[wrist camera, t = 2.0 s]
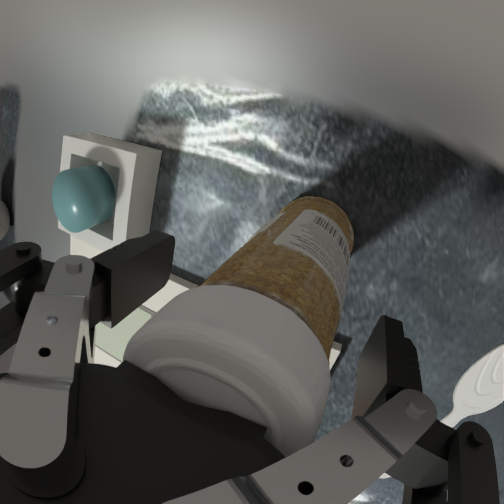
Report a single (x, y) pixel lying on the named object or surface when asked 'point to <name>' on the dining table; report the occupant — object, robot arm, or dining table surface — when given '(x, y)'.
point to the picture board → (139, 315)
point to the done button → (83, 197)
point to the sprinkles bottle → (260, 326)
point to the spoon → (477, 389)
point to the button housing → (116, 185)
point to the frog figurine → (4, 219)
